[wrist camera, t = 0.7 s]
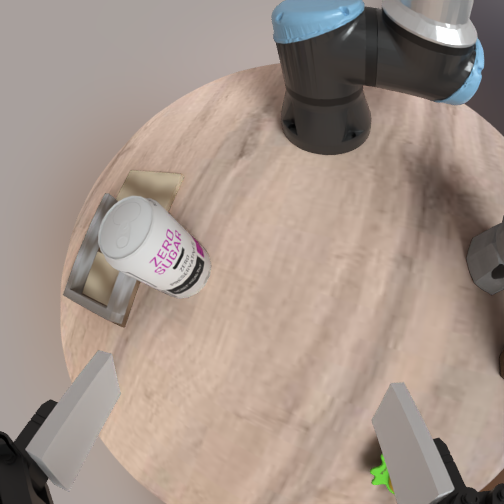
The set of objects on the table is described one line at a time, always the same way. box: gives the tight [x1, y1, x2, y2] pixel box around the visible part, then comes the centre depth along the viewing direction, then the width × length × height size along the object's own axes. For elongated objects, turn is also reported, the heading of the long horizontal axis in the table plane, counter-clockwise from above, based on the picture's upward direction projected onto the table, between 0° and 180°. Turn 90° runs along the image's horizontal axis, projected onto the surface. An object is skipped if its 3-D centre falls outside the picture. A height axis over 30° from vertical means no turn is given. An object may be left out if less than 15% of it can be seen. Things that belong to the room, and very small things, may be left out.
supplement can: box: [98, 196, 211, 299], centre depth 33 cm, size 8×8×15 cm
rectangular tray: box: [63, 170, 184, 327], centre depth 43 cm, size 26×12×4 cm, turn 162°
